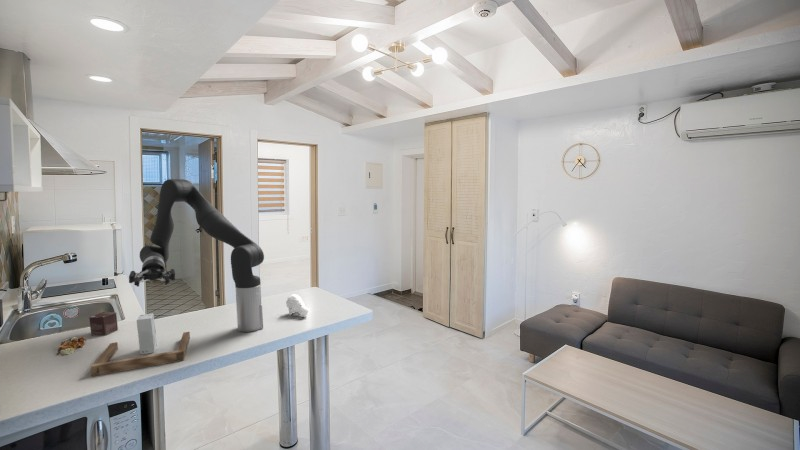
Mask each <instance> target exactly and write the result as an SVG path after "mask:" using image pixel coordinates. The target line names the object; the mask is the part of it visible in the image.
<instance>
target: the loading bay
mask: <svg viewBox="0 0 800 450" xmlns="http://www.w3.org/2000/svg"><path fill="white" fill-rule="evenodd" d="M190 338H191V333H190V331H185V332H182V336H181V339H180V340H179V341H180V342H179V344H178V347H177V350H172V351H167V352H160V353H154V354H149V355H147V354H146V355H143V356H142V355H141V356H136V357H129V358H123V359H118V360H111V359H113V357H114V356H115V354H116V352H118V350H119V344H118V342H117V341H116V342H110V343H109V344H108V345H107V347H106V348H105V349H104V350H103V352H102V353H101V354H100V355H99V357H98V358H97V359H96V361H94V363H93V364H91V365H90V373H91V374H90V375H91V377H95V376H99V375H100V376H101V375H106V374H111V373H112V374H113V373H117V372H118V373H119V372H124V371H130V370H134V369H141V368H142V369H143V368H145V367H147V368H148V367H152V366H158V365H159V366H160V365H164V364H170V363H176V362H182V361H185V358H186V353H187V350H188V346H189V344H190V343H189V342H190V341H191V340H190Z"/></svg>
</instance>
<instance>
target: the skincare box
mask: <svg viewBox="0 0 800 450" xmlns="http://www.w3.org/2000/svg"><path fill="white" fill-rule="evenodd" d="M136 328H137V336H138V346H139V354H140V355H147V354H152V353H154V354H155V353H156V350H157V348H158V341H157V339H158V338H157V332H156V331H157V330H156V323H155V315H154V312H153V313H146V314H140V315H139V316H138V317H137V319H136Z"/></svg>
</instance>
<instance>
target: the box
mask: <svg viewBox="0 0 800 450" xmlns="http://www.w3.org/2000/svg"><path fill="white" fill-rule="evenodd" d="M89 326H90V333H91V334H90V335H91V336H107V335H110V334H112V333H114V332H116V331H118V330H119V327H118V316H117V312H115V311H114V312H113V311H111V312H109V311H107V312H106V311H101V312H99V313H96V314H94V315H92V316H90V317H89Z"/></svg>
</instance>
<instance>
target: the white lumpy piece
mask: <svg viewBox="0 0 800 450" xmlns="http://www.w3.org/2000/svg"><path fill="white" fill-rule="evenodd" d="M285 303H286V307H287V309H288V315H289V316H292V315H293V313H297V314H298V316H299V317H300V318H306V317H307V315H308V313H309V309H308V307H306V304H305V303H304V301H303V299H302V297H301V296H299V295H298V294H297V293H296V294H295V293H294V294H290V295H289V296H288V297H287V300H286V302H285Z"/></svg>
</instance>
